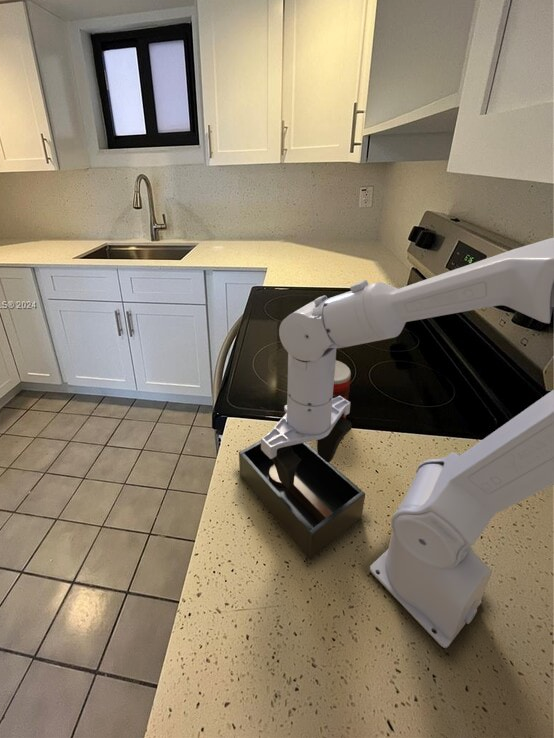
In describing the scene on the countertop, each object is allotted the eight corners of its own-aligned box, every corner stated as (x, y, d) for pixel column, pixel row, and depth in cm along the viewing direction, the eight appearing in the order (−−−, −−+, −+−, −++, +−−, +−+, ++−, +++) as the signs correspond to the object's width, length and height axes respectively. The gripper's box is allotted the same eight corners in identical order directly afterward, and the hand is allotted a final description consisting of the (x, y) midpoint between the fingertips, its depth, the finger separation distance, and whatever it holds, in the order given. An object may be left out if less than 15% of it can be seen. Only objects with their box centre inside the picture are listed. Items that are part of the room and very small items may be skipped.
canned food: (315, 398, 76) (318, 353, 71) (352, 413, 71) (357, 366, 66) (297, 417, 70) (300, 371, 66) (336, 435, 65) (341, 386, 61)
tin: (361, 518, 51) (365, 493, 49) (310, 560, 46) (312, 534, 44) (286, 447, 63) (287, 425, 61) (239, 474, 58) (238, 452, 56)
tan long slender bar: (340, 521, 50) (342, 510, 49) (320, 537, 48) (321, 526, 47) (282, 462, 60) (282, 453, 59) (263, 474, 58) (263, 464, 57)
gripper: (326, 360, 52) (320, 432, 57) (245, 397, 45) (248, 475, 50) (366, 383, 46) (356, 460, 52) (282, 429, 39) (281, 513, 45)
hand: (305, 470), depth 51 cm, fingers open, 7 cm apart
